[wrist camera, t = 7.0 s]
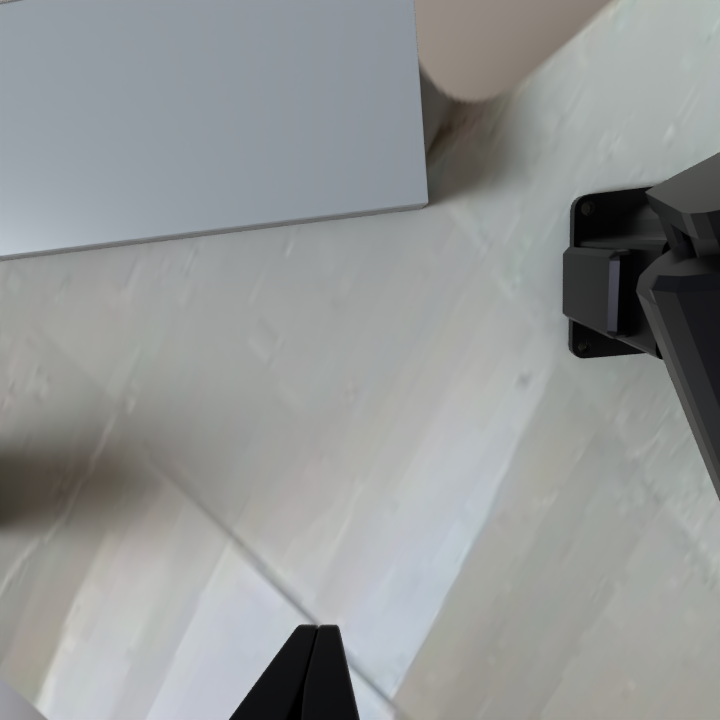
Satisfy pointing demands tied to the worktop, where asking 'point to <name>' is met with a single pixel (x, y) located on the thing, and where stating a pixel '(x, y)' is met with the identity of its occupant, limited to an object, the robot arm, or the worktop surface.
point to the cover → (202, 116)
